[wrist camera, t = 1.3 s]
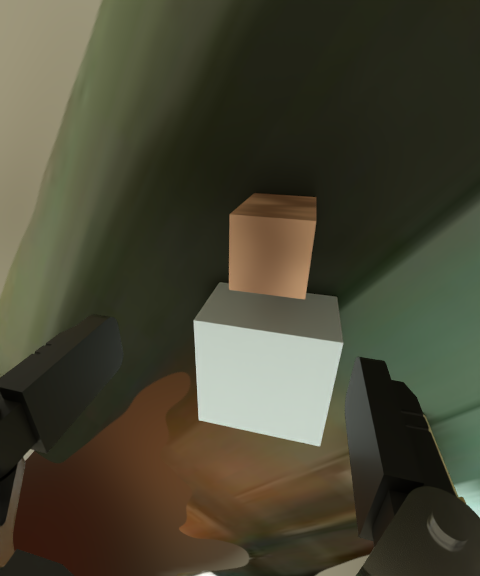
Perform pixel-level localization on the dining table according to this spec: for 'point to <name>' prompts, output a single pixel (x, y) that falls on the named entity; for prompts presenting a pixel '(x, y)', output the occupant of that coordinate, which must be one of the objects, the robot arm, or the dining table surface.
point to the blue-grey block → (267, 362)
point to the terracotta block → (272, 245)
